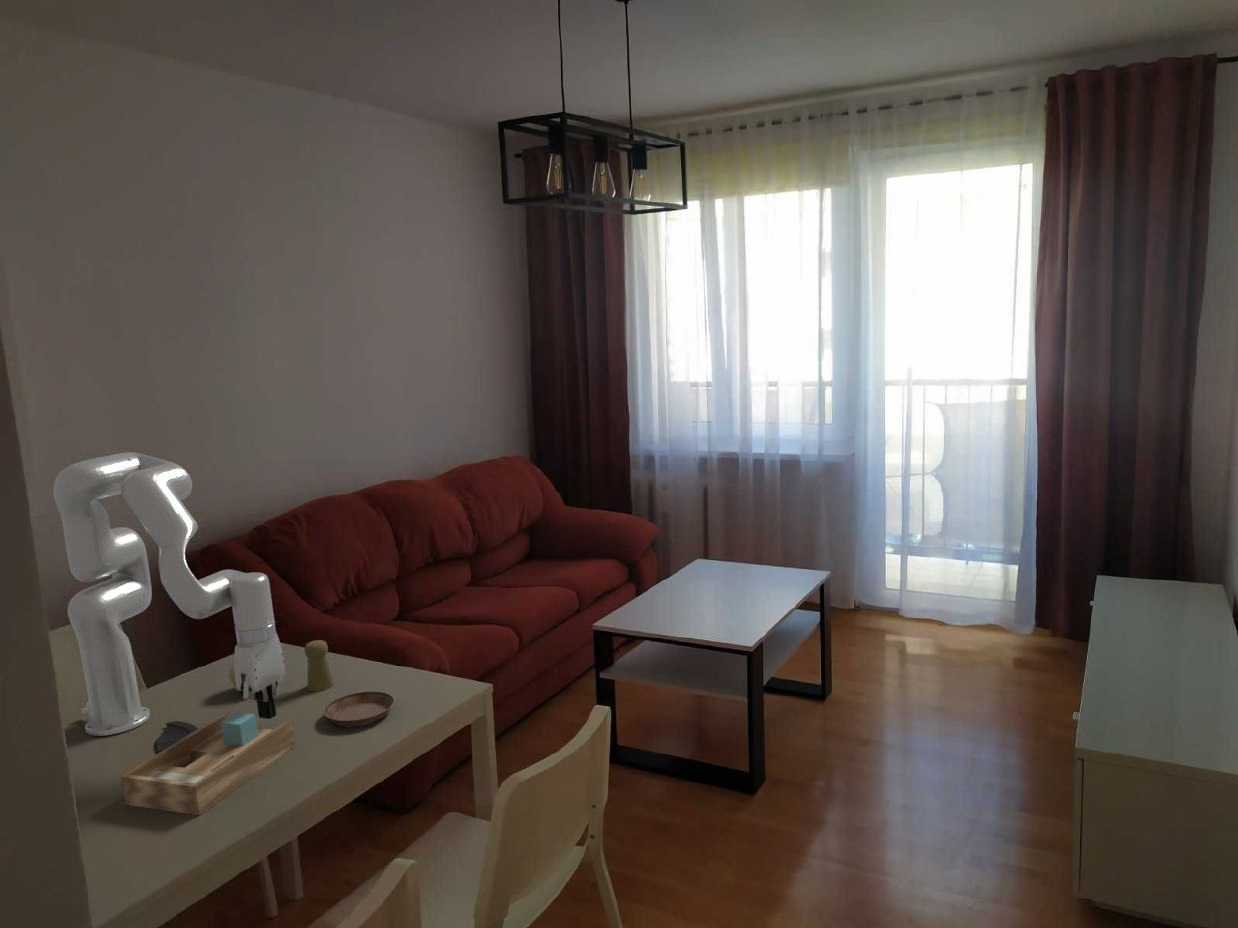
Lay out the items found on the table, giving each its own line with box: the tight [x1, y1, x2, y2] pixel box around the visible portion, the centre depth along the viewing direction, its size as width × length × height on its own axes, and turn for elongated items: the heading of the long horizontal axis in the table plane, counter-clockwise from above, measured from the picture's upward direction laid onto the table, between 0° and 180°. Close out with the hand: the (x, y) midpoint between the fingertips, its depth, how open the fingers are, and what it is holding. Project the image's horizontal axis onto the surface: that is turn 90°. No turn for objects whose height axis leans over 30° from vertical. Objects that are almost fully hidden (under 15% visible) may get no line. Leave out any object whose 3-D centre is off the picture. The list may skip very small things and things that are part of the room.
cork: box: [304, 639, 335, 693], centre depth 211 cm, size 6×6×11 cm
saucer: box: [323, 690, 395, 728], centre depth 195 cm, size 15×15×3 cm
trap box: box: [120, 713, 296, 816], centre depth 173 cm, size 17×26×6 cm, turn 162°
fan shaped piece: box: [156, 720, 199, 754], centre depth 190 cm, size 8×14×2 cm, turn 26°
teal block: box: [222, 712, 259, 746], centre depth 180 cm, size 4×4×4 cm
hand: (267, 716), depth 187 cm, fingers closed
